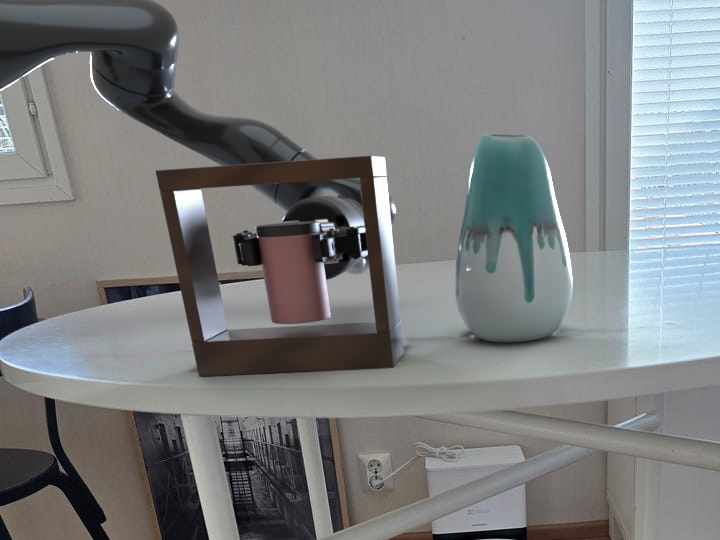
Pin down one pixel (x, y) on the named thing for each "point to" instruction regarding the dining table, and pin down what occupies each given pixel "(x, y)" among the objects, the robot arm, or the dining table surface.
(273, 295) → the liner canister
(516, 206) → the vase
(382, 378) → the dining table surface
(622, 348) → the dining table surface
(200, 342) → the shelf
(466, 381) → the dining table surface
